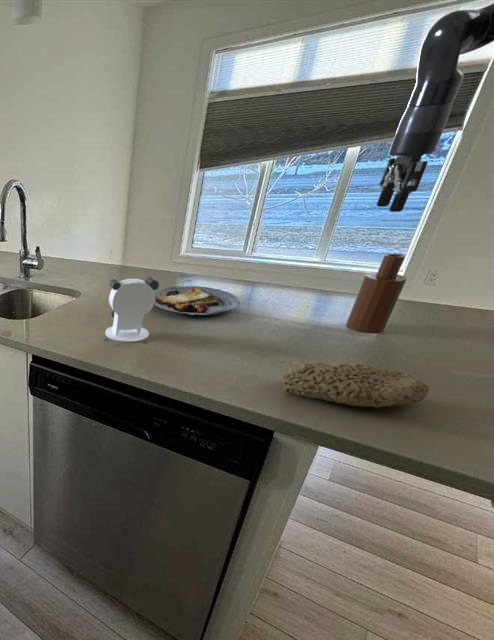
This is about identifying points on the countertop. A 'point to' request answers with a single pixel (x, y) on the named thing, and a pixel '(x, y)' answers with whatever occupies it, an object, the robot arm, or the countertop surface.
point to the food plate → (195, 300)
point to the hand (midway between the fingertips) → (388, 208)
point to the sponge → (354, 384)
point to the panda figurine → (130, 308)
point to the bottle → (377, 296)
